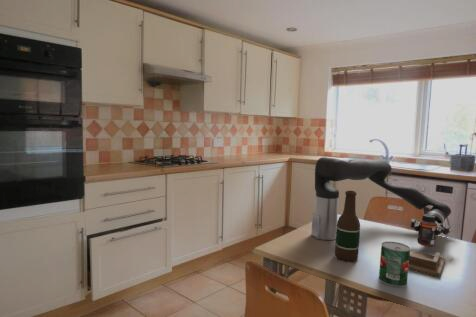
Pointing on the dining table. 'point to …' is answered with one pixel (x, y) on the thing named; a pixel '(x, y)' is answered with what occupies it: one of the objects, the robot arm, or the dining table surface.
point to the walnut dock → (426, 263)
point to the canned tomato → (394, 264)
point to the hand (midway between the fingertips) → (426, 230)
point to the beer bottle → (348, 231)
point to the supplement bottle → (427, 231)
